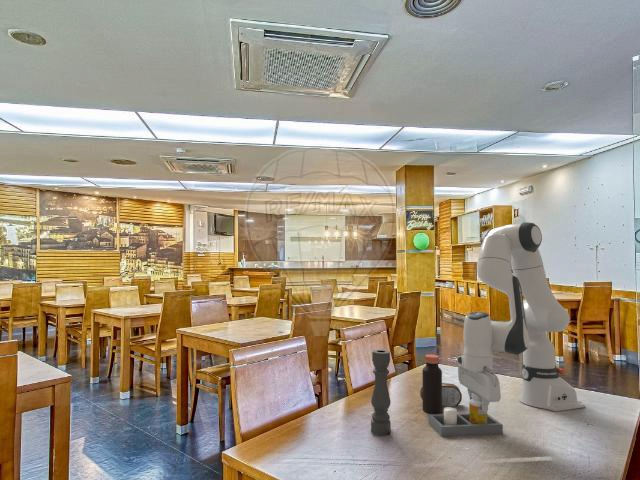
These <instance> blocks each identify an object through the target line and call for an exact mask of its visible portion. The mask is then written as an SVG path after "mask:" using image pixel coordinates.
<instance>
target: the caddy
mask: <svg viewBox="0 0 640 480" xmlns="http://www.w3.org/2000/svg"><path fill="white" fill-rule="evenodd" d="M427 417H428V418H427V419H428V421H427V422H428V425H430V427H432V428H433V430H435V432H436V433H437V434H438V435H439V436H440V437H457V436H459V437H460V436H476V435H477V436H478V435H479V436H480V435H481V436H482V435H496V434H497V435H498V434H500V435H501V434H502V435H503V433H504V432H503V431H504V430H503V429H504V426H503V423H501V422H500V421H499V420H497V419H496V418H494V417H493V416H491V415H489V414H488V413H487V424H471V423H470V422H469V412H467V413H457V425H447V426H444V413H440V414H428V416H427Z"/></svg>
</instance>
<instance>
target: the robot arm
mask: <svg viewBox="0 0 640 480" xmlns="http://www.w3.org/2000/svg"><path fill="white" fill-rule="evenodd" d="M542 235H543V234H542V231H541V228H540V227H539V226H538V225H536V224H535V223H533V222H527V221H525V222H522V223H512V224H506V225H502V226H498V227H495V228H490V229H487V230H485V231H483V233H482V234H481V236H480V249H479V253H478V259H477V268H476V270H477V276H478V278H479V280H480V281H481V282H482V283H483V284H485V285H486V286H487V287H489V288H491V289H494V290H497V291H499V292H501V293H503V294H505V295H506V296H507V298H508V304H509V315H510V320H509V321H507V322H506V321H497V320H496V321H495V320H492V319H491V315H490V314H489V313H487V312H484V311H472V312H468V313H467V314H465V316H464V322H463V332H462V333H463V334H462V335H463V338H462V339H463V343H464V348H463V355H460V356H459V355H458V356H457V357H456V361H457V363H458V366H457V375H458V381H459V384H460V385H462V386H463V387H465V388H467V394H468V397H469V401H470V400H471V399H472V392H475V393H476V394H478V395H479V396H481V397H482V400H483V401H482V404H480V409H481V410H482V411H487V412H489V404H490V403H498V402H500V401H501V398H502V397H501V395H502V394H501V386H500V380H499V378H498V376H497V374H496V373H495V371H494V365H493V364H494V357H493V356H494V355H493V351H498V352H504V353H508V354H511V355H512V354H513V355H516V356H518V355H520V354H521V355H522V363H521V375H522V380H521V381H522V382H521V389H520V395H519V396H518V400H519V402H521V403H522V404H525V405H527V406H530V407H535V408H540V409H545V410H549V411H554V412H561V411H568V410H574V409H582V408H581V407H583V408H585V403H584V402H582V400H579V399H578V396H577V392H576V390H575V388H574V386H572V385H571V384H569V383H568V382H567V381H566V380H564V379H563V378H562V377H560V374H561V375H565V374H566V369H565V368H562V367H559V368H558V367H557V366H556V348H555V345H554V344H553V342H552V341H551V340H550V338H549V336H548V334H547V333H559V332H563V331H565V330H566V329H567V328H568V326H569V325H570V320H571V318H570V313H569V312H568V310H567V309H566V308H565V307H563V305H561V303H560V302H559V301H558V300H557V298H556V296H555V295H554V293H553V292H552V290H551V288H550V286H549V283H548V280H547V275H546V270H545V265H544V262H543V259H542V255H541V252H540V249H539V248H540V246H541V243H542V241H543V237H542Z"/></svg>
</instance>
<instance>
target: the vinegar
mask: <svg viewBox="0 0 640 480" xmlns="http://www.w3.org/2000/svg"><path fill="white" fill-rule="evenodd" d="M424 362H425V366H424V367H423V368H422V370H421V371H422V375H421V376H422V386H423V400H422V412H424V413H427V414H429V415H437V414H443V406H442V383H443V371H442V369H441V367H440V366H439V364H440V356H439V355H438V354H437V355H436V354H425V355H424Z"/></svg>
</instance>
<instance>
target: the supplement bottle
mask: <svg viewBox="0 0 640 480" xmlns="http://www.w3.org/2000/svg"><path fill="white" fill-rule="evenodd" d="M482 401H483V400H482V397H481V396H479V395H478V394H476V393H475V392H472V399H471V400H470V399H469V403H468V404H469V405H468V406H469V407H468V408H469V412H468V413H469V422H470V423H471V424H487V414H488V411H482V410H481V409H480V404H482Z"/></svg>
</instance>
